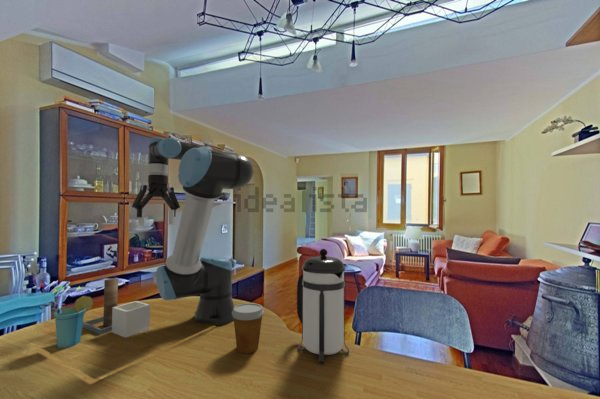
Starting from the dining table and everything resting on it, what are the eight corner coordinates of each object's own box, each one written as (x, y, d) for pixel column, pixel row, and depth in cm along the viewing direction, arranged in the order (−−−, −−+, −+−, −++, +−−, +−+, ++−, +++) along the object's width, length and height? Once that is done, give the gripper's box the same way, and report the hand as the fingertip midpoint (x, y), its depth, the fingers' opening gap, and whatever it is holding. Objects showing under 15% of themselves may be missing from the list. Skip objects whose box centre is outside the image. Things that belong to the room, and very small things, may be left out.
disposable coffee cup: (270, 348, 87) (270, 307, 87) (243, 359, 80) (244, 315, 80) (250, 338, 93) (251, 300, 94) (224, 348, 86) (225, 307, 87)
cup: (47, 362, 78) (49, 306, 78) (28, 357, 80) (30, 302, 81) (98, 340, 91) (99, 292, 92) (80, 336, 94) (82, 289, 94)
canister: (149, 331, 98) (150, 304, 98) (125, 340, 91) (126, 311, 91) (135, 326, 102) (136, 300, 102) (111, 335, 95) (112, 307, 95)
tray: (137, 325, 103) (137, 318, 103) (100, 338, 93) (100, 330, 93) (118, 318, 109) (118, 312, 109) (81, 330, 99) (82, 322, 99)
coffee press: (350, 341, 91) (350, 246, 93) (347, 368, 76) (347, 253, 77) (297, 335, 95) (297, 244, 97) (283, 360, 80) (284, 250, 81)
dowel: (119, 325, 102) (120, 279, 102) (106, 329, 98) (108, 281, 99) (113, 323, 104) (114, 278, 104) (100, 326, 100) (102, 280, 101)
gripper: (177, 178, 136) (176, 223, 135) (123, 172, 114) (121, 226, 113) (188, 177, 132) (187, 224, 131) (134, 170, 110) (132, 226, 109)
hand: (157, 225), depth 122 cm, fingers open, 13 cm apart
